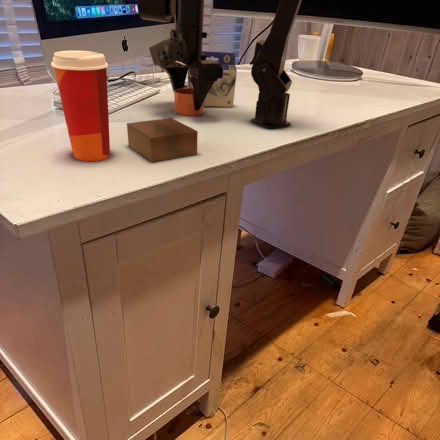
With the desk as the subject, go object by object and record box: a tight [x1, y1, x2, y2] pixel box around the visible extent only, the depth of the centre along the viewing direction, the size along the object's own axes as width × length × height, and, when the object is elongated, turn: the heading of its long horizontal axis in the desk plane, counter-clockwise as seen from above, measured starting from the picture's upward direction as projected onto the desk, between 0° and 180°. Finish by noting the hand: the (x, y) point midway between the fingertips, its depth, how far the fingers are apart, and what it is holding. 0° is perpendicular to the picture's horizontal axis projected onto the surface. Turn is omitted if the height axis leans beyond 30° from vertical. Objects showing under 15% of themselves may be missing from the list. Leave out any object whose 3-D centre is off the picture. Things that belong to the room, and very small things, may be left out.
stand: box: [126, 117, 199, 163], centre depth 73 cm, size 9×9×4 cm
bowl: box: [173, 87, 205, 117], centre depth 94 cm, size 7×7×4 cm
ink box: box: [187, 50, 238, 108], centre depth 98 cm, size 12×2×12 cm, turn 103°
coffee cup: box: [50, 49, 111, 162], centre depth 66 cm, size 8×8×15 cm
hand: (187, 105), depth 95 cm, fingers open, 8 cm apart
